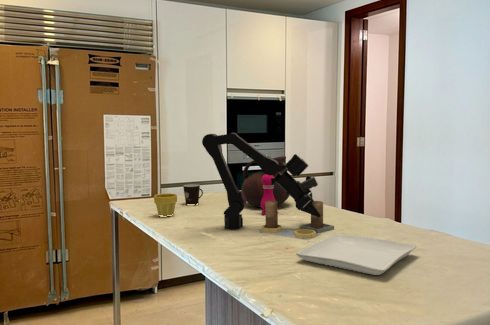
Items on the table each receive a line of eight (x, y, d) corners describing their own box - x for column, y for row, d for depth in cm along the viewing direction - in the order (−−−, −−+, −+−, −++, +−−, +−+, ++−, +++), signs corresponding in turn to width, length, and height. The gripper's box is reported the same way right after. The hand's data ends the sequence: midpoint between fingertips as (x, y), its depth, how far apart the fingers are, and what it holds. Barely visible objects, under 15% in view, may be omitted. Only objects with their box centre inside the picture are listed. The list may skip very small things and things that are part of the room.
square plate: (337, 242, 150) (337, 231, 150) (417, 256, 133) (417, 244, 132) (294, 263, 129) (294, 250, 129) (383, 283, 112) (383, 268, 111)
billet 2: (317, 232, 160) (317, 203, 159) (308, 230, 164) (308, 202, 163) (325, 230, 163) (325, 202, 162) (316, 228, 166) (316, 200, 165)
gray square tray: (317, 236, 157) (317, 229, 157) (300, 231, 164) (300, 225, 164) (334, 232, 162) (334, 225, 162) (316, 227, 170) (316, 221, 169)
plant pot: (180, 216, 195) (179, 195, 194) (158, 219, 191) (157, 197, 190) (174, 212, 205) (173, 192, 204) (152, 215, 200) (151, 194, 199)
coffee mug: (181, 203, 227) (181, 185, 226) (197, 202, 231) (196, 183, 230) (188, 207, 217) (187, 188, 216) (204, 205, 220) (204, 186, 219)
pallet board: (256, 234, 162) (256, 227, 161) (270, 229, 169) (270, 222, 168) (307, 243, 148) (307, 236, 148) (320, 237, 155) (320, 230, 155)
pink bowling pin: (258, 215, 196) (257, 171, 194) (264, 212, 202) (264, 169, 200) (272, 216, 192) (272, 171, 190) (279, 213, 199) (278, 170, 197)
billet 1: (271, 232, 159) (270, 203, 158) (263, 230, 163) (262, 201, 162) (280, 230, 162) (280, 201, 161) (272, 228, 166) (271, 199, 165)
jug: (256, 199, 234) (255, 154, 232) (299, 203, 221) (298, 155, 219) (231, 208, 213) (230, 157, 211) (277, 212, 200) (276, 159, 198)
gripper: (304, 172, 153) (336, 203, 152) (305, 167, 171) (333, 194, 170) (282, 194, 155) (314, 225, 154) (285, 186, 173) (313, 214, 172)
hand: (319, 213), depth 162 cm, fingers open, 9 cm apart
